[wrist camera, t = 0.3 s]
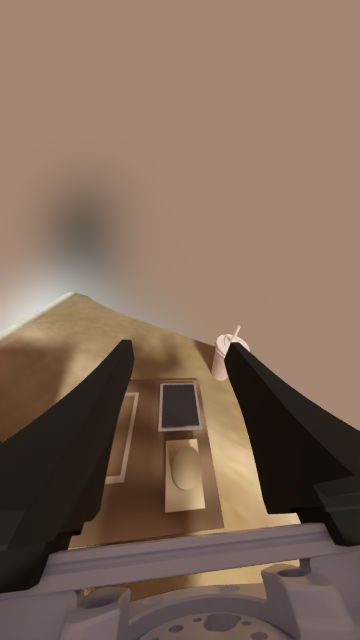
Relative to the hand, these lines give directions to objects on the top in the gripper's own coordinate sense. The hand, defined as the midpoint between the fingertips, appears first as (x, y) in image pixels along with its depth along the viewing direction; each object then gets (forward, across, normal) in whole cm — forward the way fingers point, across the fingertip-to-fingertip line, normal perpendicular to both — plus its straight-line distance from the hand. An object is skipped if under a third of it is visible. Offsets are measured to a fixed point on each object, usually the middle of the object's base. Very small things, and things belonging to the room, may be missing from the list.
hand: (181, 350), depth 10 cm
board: (+1, +5, +20) cm, 21 cm away
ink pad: (+4, -2, +19) cm, 20 cm away
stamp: (-4, -2, +20) cm, 20 cm away
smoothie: (+12, -11, +20) cm, 26 cm away
